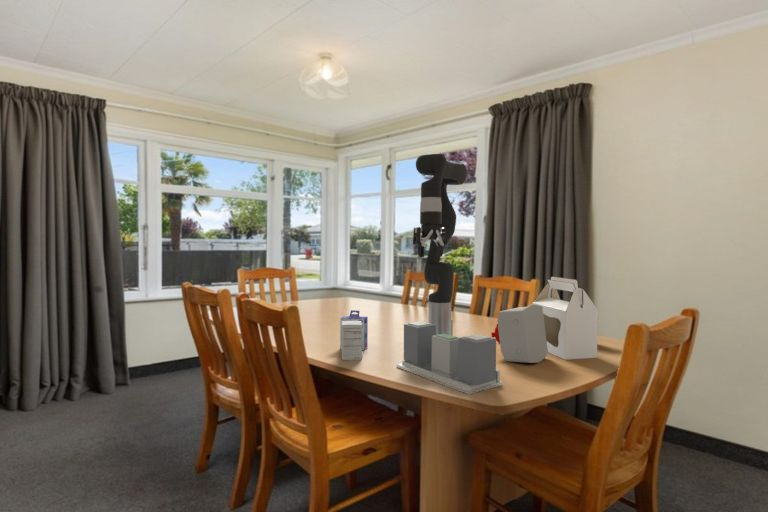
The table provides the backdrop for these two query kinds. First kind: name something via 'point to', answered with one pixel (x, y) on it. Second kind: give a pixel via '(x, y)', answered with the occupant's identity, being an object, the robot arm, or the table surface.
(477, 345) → the block
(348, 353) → the supplement box
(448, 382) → the rail base
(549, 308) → the gable box
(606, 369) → the table surface
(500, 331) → the electrical switch box
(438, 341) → the block
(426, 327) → the block
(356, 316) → the ink cartridge box
